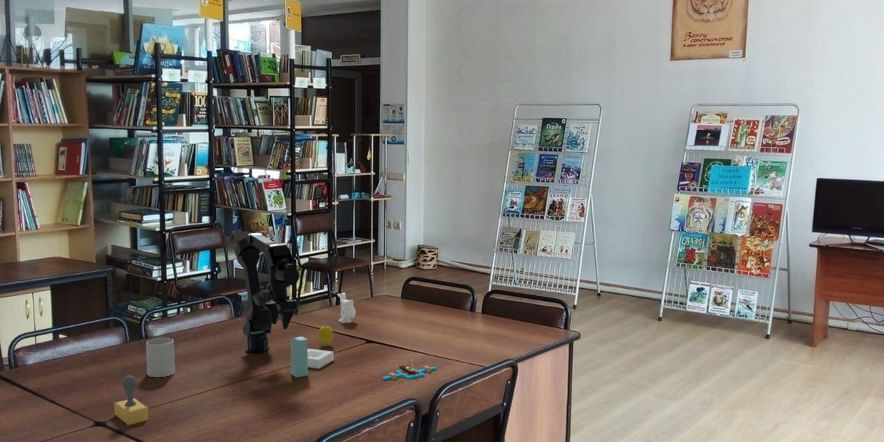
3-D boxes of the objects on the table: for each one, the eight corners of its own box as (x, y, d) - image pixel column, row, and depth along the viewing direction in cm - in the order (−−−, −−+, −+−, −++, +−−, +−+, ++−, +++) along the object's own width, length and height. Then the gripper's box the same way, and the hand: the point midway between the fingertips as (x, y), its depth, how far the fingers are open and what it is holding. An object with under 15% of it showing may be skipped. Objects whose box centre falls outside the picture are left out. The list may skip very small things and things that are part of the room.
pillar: (291, 374, 250) (290, 338, 248) (302, 372, 252) (301, 336, 250) (296, 377, 246) (295, 341, 245) (307, 375, 249) (307, 339, 247)
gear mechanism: (374, 376, 249) (389, 384, 241) (374, 360, 248) (389, 367, 240) (426, 366, 260) (442, 373, 252) (426, 350, 259) (442, 357, 252)
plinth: (292, 365, 259) (292, 356, 259) (308, 357, 268) (308, 348, 268) (318, 368, 256) (318, 359, 255) (333, 360, 265) (333, 351, 265)
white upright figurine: (332, 321, 317) (332, 293, 316) (345, 319, 322) (345, 291, 321) (345, 325, 312) (345, 296, 310) (358, 322, 316) (358, 294, 315)
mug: (178, 375, 248) (177, 342, 247) (151, 380, 243) (150, 346, 242) (167, 365, 258) (166, 334, 257) (141, 370, 253) (139, 338, 252)
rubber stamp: (114, 415, 214) (112, 373, 213) (135, 410, 218) (133, 369, 216) (127, 425, 207) (124, 382, 205) (148, 420, 210) (146, 377, 209)
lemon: (330, 348, 279) (330, 327, 278) (316, 347, 280) (315, 326, 279) (335, 344, 284) (335, 323, 283) (321, 343, 285) (321, 322, 284)
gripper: (245, 279, 261) (246, 324, 262) (265, 287, 246) (267, 335, 247) (276, 276, 267) (277, 320, 269) (298, 284, 252) (299, 330, 253)
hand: (279, 326), depth 259 cm, fingers open, 9 cm apart
